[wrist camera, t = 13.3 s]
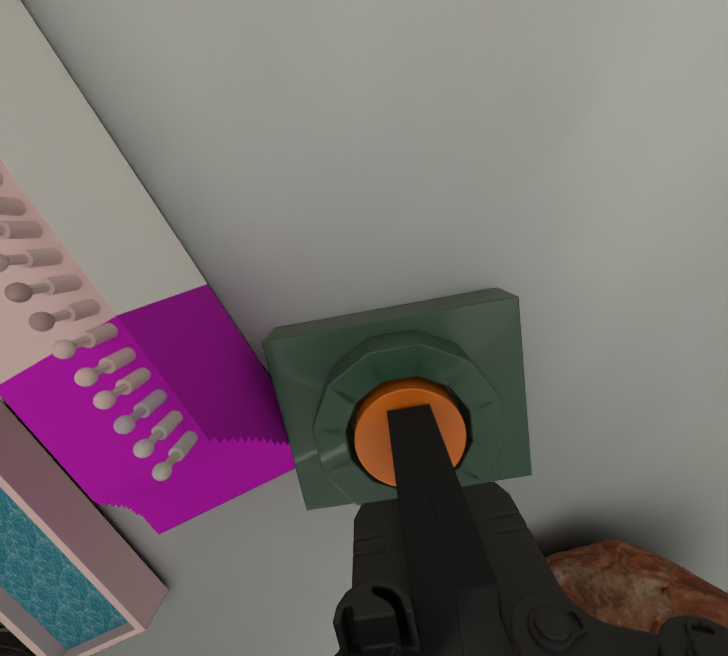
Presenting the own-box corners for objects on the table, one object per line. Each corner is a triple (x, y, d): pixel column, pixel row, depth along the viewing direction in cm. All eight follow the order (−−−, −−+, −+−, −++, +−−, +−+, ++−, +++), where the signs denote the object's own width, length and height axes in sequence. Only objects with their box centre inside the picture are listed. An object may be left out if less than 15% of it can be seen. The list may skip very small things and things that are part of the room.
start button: (364, 466, 15) (365, 495, 14) (346, 379, 14) (344, 399, 13) (459, 450, 15) (472, 478, 13) (448, 361, 14) (459, 379, 12)
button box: (313, 478, 18) (300, 544, 14) (274, 327, 16) (247, 357, 12) (511, 446, 18) (553, 505, 14) (497, 287, 16) (541, 305, 12)
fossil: (880, 656, 14) (692, 446, 16) (1032, 1028, 8) (706, 636, 10) (580, 635, 23) (477, 503, 24) (549, 808, 17) (413, 620, 18)
